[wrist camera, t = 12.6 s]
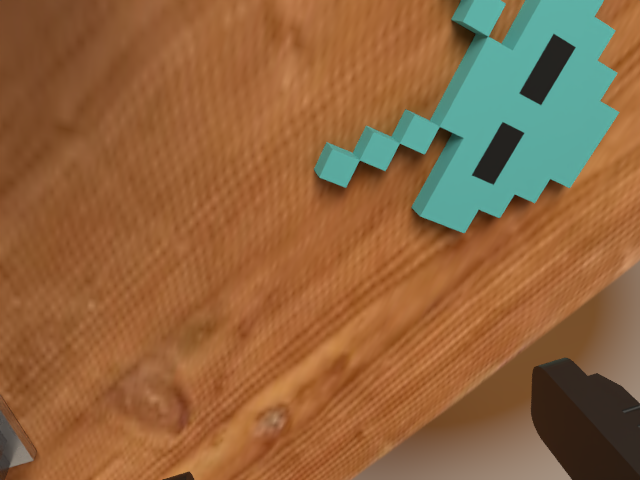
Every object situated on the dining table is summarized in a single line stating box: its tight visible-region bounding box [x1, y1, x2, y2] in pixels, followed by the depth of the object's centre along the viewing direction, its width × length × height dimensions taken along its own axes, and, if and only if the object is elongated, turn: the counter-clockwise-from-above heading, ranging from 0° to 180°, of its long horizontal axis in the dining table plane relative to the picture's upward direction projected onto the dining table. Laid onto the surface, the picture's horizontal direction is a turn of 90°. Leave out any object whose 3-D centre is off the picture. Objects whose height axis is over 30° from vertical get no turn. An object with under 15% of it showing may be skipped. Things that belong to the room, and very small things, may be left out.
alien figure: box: [314, 0, 619, 233], centre depth 39 cm, size 20×2×20 cm
